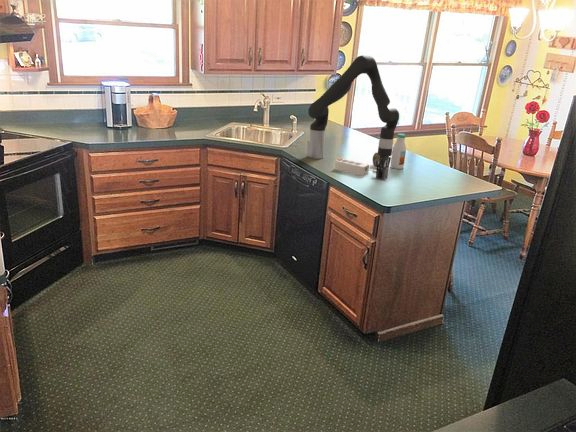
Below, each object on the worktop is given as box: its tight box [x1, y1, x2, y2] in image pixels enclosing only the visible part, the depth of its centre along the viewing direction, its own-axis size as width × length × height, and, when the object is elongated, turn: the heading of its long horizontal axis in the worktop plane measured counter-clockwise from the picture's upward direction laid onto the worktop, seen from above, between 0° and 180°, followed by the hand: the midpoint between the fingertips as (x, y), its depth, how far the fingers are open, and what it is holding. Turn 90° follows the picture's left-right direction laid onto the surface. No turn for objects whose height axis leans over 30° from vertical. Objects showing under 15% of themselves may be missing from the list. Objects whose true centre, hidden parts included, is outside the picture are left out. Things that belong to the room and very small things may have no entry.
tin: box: [372, 152, 380, 167], centre depth 291 cm, size 15×3×8 cm, turn 21°
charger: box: [372, 165, 390, 180], centre depth 273 cm, size 8×4×6 cm, turn 55°
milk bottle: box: [389, 133, 407, 170], centre depth 292 cm, size 8×8×20 cm
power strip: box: [334, 157, 370, 177], centre depth 282 cm, size 18×7×6 cm, turn 55°
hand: (381, 176), depth 273 cm, fingers closed on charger, 4 cm apart
